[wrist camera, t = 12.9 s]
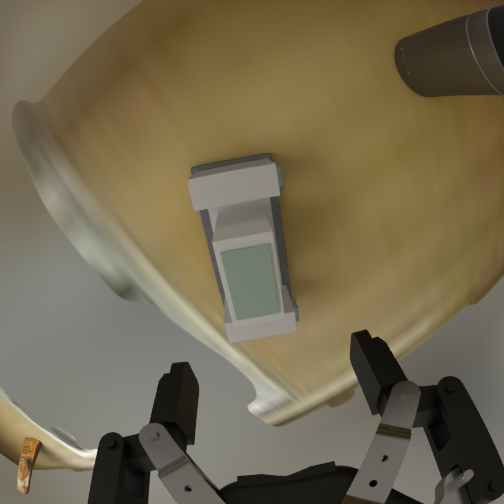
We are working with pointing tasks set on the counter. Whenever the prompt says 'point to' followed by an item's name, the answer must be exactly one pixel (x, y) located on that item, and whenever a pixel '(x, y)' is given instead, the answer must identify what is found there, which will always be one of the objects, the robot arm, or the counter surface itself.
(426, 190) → the counter surface
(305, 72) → the counter surface
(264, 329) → the rail
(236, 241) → the block
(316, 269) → the counter surface
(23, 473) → the pancake mix bag
